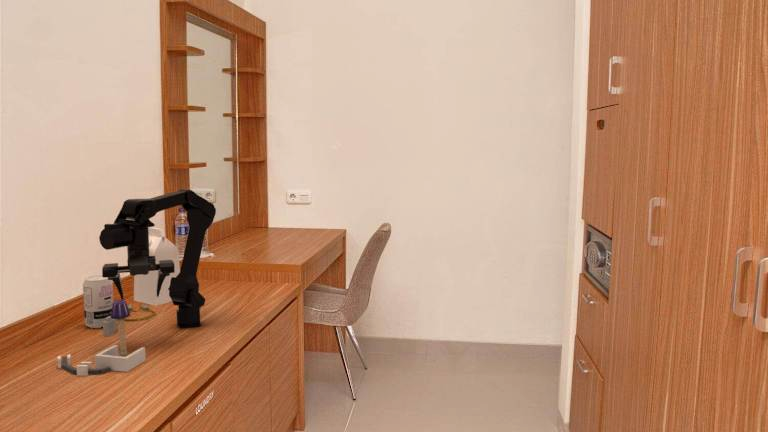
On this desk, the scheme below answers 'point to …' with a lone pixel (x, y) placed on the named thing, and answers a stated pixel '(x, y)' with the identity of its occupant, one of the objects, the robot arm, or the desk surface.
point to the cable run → (90, 371)
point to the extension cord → (140, 308)
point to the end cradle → (119, 359)
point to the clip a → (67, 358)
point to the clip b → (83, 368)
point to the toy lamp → (121, 323)
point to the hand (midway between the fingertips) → (140, 298)
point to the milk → (148, 283)
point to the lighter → (109, 326)
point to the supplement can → (97, 300)
